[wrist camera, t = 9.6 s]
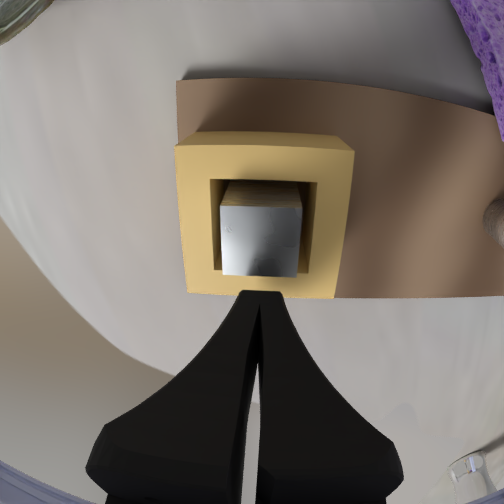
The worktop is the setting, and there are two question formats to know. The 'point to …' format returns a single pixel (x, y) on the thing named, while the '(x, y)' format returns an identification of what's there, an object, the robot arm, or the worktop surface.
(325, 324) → the worktop surface
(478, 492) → the beer glass
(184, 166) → the collar
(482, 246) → the stand board
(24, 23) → the lid
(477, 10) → the sponges
